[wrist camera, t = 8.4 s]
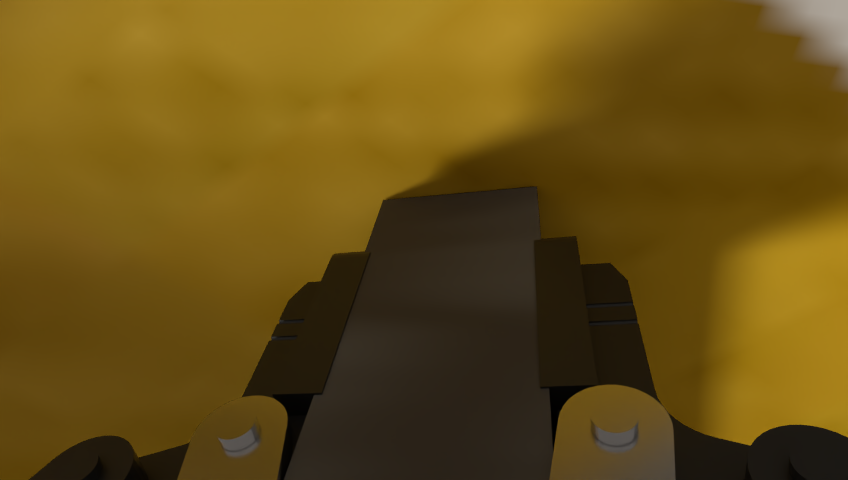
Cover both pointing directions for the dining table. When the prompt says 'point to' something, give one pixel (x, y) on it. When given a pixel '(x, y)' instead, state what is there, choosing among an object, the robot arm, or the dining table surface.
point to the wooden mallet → (438, 351)
